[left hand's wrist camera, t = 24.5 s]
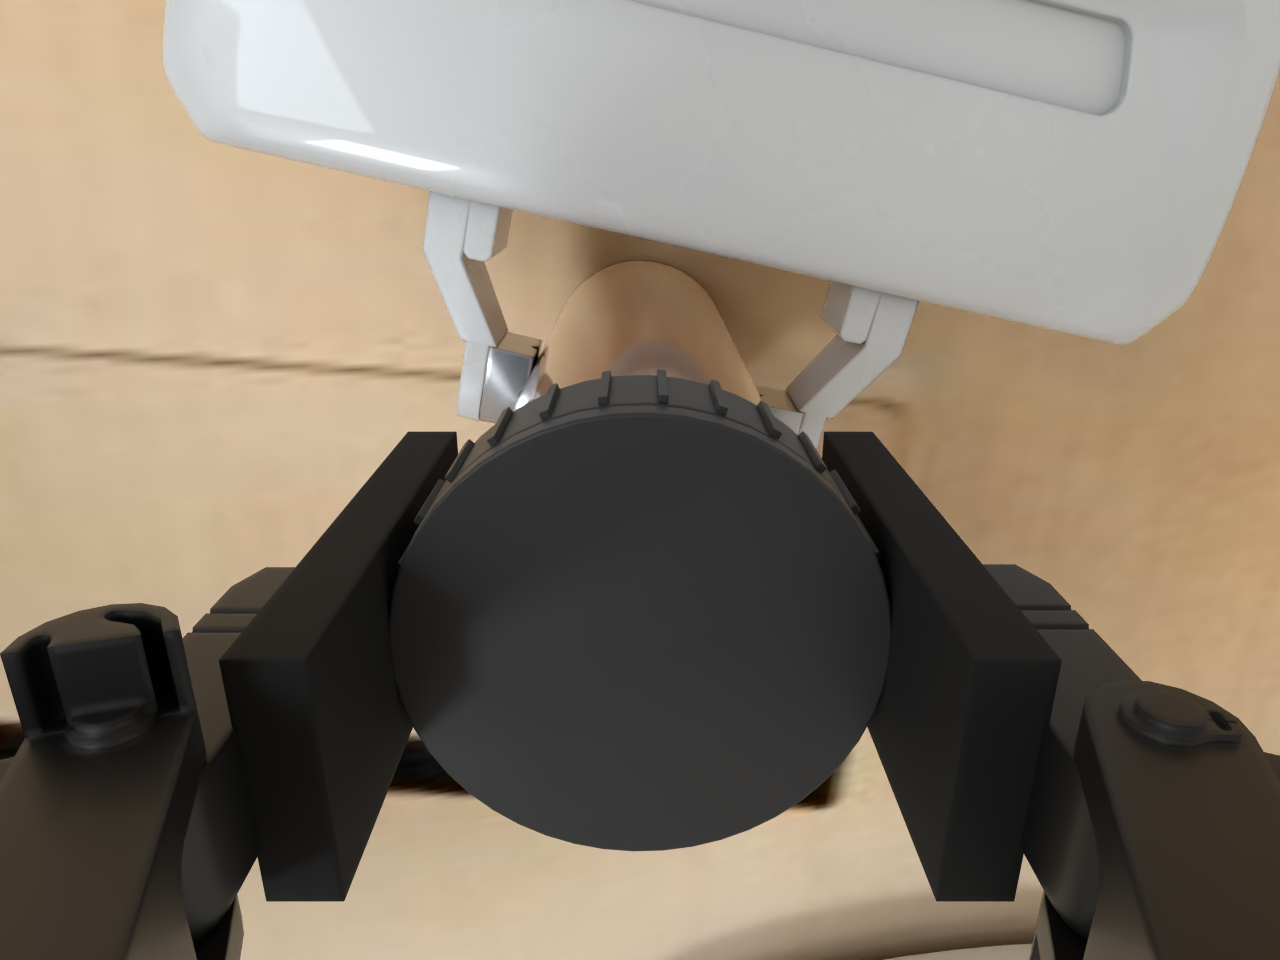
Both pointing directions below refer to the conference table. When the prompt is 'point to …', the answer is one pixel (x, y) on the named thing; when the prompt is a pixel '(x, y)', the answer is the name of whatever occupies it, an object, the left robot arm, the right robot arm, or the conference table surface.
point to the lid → (640, 615)
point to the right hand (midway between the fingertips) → (633, 445)
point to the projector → (977, 953)
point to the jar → (639, 333)
